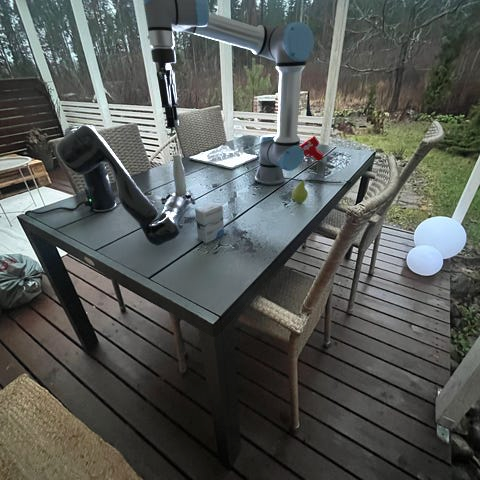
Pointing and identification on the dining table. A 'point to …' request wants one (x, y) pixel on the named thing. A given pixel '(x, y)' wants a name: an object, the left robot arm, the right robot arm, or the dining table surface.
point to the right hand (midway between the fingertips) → (173, 126)
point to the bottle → (179, 176)
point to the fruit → (300, 192)
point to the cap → (176, 122)
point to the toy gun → (311, 148)
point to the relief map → (224, 157)
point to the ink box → (209, 221)
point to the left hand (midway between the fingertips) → (182, 191)
